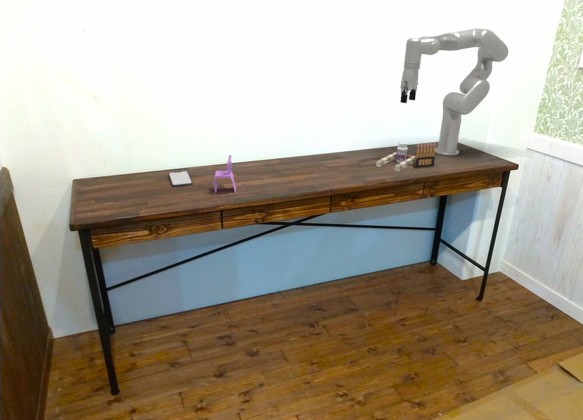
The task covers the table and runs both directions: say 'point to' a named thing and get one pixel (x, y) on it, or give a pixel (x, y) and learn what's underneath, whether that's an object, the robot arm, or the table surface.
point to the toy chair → (225, 174)
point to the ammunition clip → (424, 156)
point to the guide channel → (393, 156)
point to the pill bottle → (401, 152)
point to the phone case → (180, 179)
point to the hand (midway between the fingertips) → (407, 101)
